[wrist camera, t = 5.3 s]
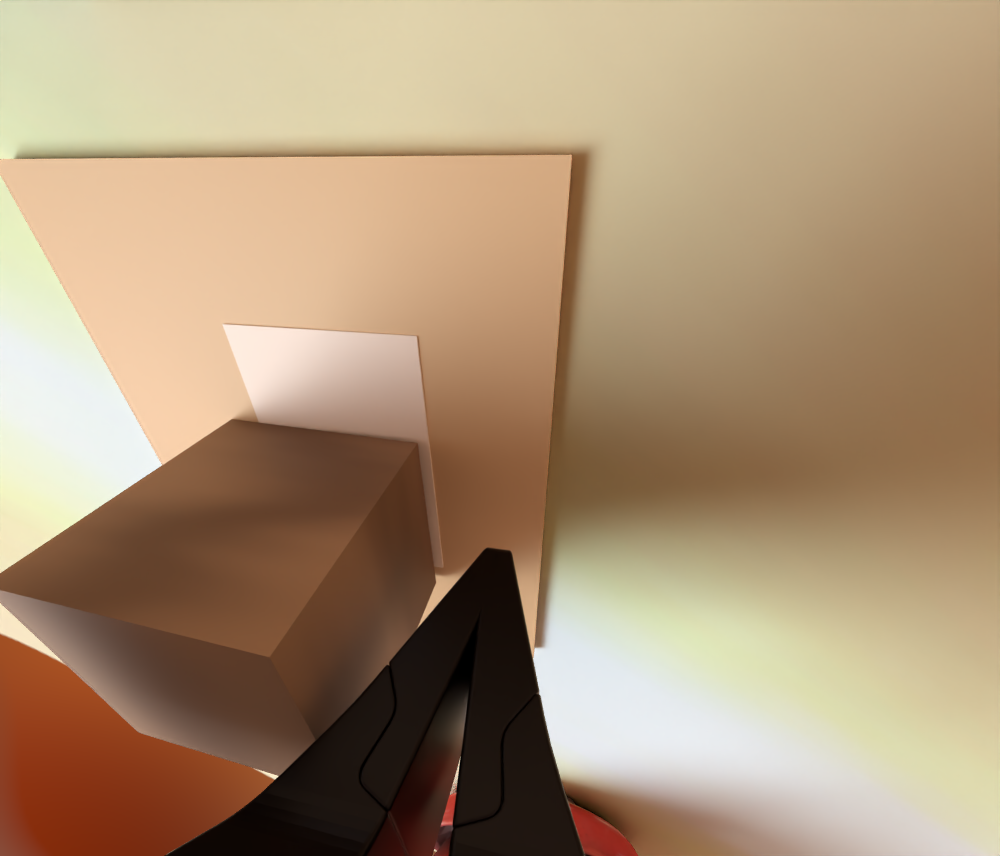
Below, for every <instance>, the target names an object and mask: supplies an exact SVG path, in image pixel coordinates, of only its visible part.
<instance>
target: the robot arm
mask: <svg viewBox="0 0 1000 856" xmlns="http://www.w3.org/2000/svg"><path fill="white" fill-rule="evenodd" d="M460 756H461V758H460ZM459 760H460V766H459V775H458V783H457V791H456V799H455V807H454V815H453V823H452V827H453V830H452V832H451V840H450V847H449V855H448V856H585V853H584V850H583V847H582V844H581V841H580V838H579V834H578V831H577V828H576V825H575V822H574V819H573V816H572V812H571V809H570V806H569V803H568V800H567V797H566V794H565V790H564V787H563V784H562V781H561V778H560V774H559V771H558V767H557V764H556V760H555V757H554V754H553V750H552V747H551V743H550V738H549V734H548V730H547V725H546V721H545V716H544V711H543V706H542V701H541V696H540V695H539V687H538V682H537V677H536V672H535V667H534V662H533V656H532V651H531V646H530V641H529V636H528V631H527V626H526V621H525V616H524V611H523V606H522V601H521V595H520V590H519V585H518V580H517V575H516V570H515V565H514V560H513V555H512V552H511V551H510V550H504V549H497V548H490V547H487V548H485V549H484V550H483V551H482V552H481V554H480V555H479V556H478V557H477V558H476V559H475V561H474V562H473V563H472V564H471V565H470V567H469V568H468V569H467V570H466V571H465V572H464V574H463V575H462V576H461V577H460V578H459V580H458V581H457V582H456V583H455V584H454V585H453V587H452V588H451V589H450V590H449V591H448V593H447V594H446V595H445V596H444V597H443V599H442V600H441V601H440V602H439V603H438V604H437V606H436V607H435V608H434V609H433V610H432V612H431V613H430V614H429V615H428V616H427V617H426V619H425V620H424V621H423V622H422V623H421V625H420V626H419V627H418V628H417V629H416V630H415V632H414V633H413V634H412V635H411V636H410V638H409V639H408V640H407V641H406V642H405V643H404V645H403V646H402V647H401V648H400V649H399V651H398V652H397V653H396V654H395V655H394V657H393V658H392V659H391V660H390V661H389V665H386V666H385V667H384V668H383V669H382V670H381V672H380V673H379V674H378V675H377V676H376V678H375V679H374V680H373V681H372V682H371V683H370V684H369V686H368V687H367V688H366V689H365V690H364V691H363V692H362V693H361V695H360V696H359V697H358V698H357V699H356V700H355V701H354V702H353V703H352V704H351V705H350V706H349V708H348V709H347V710H346V711H345V712H344V713H343V714H342V715H341V716H340V717H339V718H338V719H337V720H336V721H335V722H334V723H333V724H332V725H331V726H330V727H329V728H328V729H327V730H326V731H325V732H324V733H323V734H322V735H321V736H320V737H319V738H318V739H316V740H315V741H314V742H313V743H312V744H311V745H310V746H309V747H308V748H307V749H306V750H305V751H304V752H303V753H302V754H301V755H300V756H299V757H298V758H297V759H296V760H295V761H294V762H293V763H292V764H291V765H290V766H289V767H288V768H287V769H286V770H285V771H284V772H283V773H282V774H281V775H280V776H279V777H278V778H276V779H275V780H274V782H273V783H271V784H270V785H269V786H268V787H267V788H266V789H265V790H264V791H263V792H262V793H261V794H259V795H258V796H257V797H256V798H255V799H254V800H252V801H251V802H250V803H249V804H247V805H246V806H245V807H244V808H242V809H241V810H239V811H238V812H236V813H235V814H234V815H232V816H231V817H229V818H228V819H226V820H224V821H223V822H221V823H219V824H218V825H216V826H214V827H213V828H211V829H209V830H207V831H206V832H204V833H202V834H201V835H199V836H197V837H195V838H194V839H192V840H190V841H189V842H187V843H185V844H184V845H182V846H180V847H178V848H177V849H175V850H173V851H172V852H170V853H168V854H167V855H165V856H432V855H433V851H434V848H435V844H436V841H437V837H438V834H439V830H440V827H441V823H442V820H443V816H444V813H445V809H446V806H447V802H448V799H449V795H450V792H451V788H452V784H453V781H454V777H455V774H456V770H457V767H458V763H459Z"/></svg>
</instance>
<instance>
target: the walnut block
mask: <svg viewBox="0 0 1000 856" xmlns="http://www.w3.org/2000/svg"><path fill="white" fill-rule="evenodd" d="M435 584H436V577H435V569H434V562H433V555H432V547H431V540H430V532H429V525H428V517H427V510H426V502H425V495H424V487H423V480H422V472H421V465H420V457H419V450H418V443H414V442H406V441H398V440H390V439H382V438H375V437H367V436H359V435H351V434H344V433H336V432H328V431H320V430H313V429H305V428H297V427H289V426H281V425H274V424H266V423H258V422H250V421H243V420H235V419H231V420H230V421H228V422H227V423H225V424H224V425H222V426H221V427H219V428H218V429H216V430H215V431H213V432H212V433H210V434H209V435H207V436H206V437H204V438H203V439H201V440H200V441H198V442H197V443H195V444H194V445H192V446H191V447H189V448H188V449H186V450H185V451H183V452H182V453H180V454H179V455H177V456H176V457H174V458H173V459H171V460H170V461H168V462H167V463H165V464H164V465H162V466H161V467H159V468H158V469H156V470H155V471H153V472H152V473H150V474H149V475H147V476H146V477H144V478H143V479H141V480H140V481H138V482H137V483H135V484H134V485H132V486H131V487H129V488H128V489H126V490H125V491H123V492H122V493H120V494H119V495H117V496H116V497H114V498H113V499H111V500H110V501H108V502H107V503H105V504H104V505H102V506H101V507H99V508H98V509H96V510H95V511H93V512H92V513H90V514H89V515H87V516H86V517H84V518H83V519H81V520H80V521H78V522H77V523H75V524H74V525H72V526H71V527H69V528H68V529H66V530H65V531H63V532H62V533H60V534H59V535H57V536H56V537H54V538H53V539H51V540H50V541H48V542H47V543H45V544H44V545H42V546H41V547H39V548H38V549H36V550H35V551H33V552H32V553H30V554H29V555H27V556H26V557H24V558H23V559H21V560H20V561H18V562H17V563H15V564H14V565H12V566H11V567H9V568H8V569H6V570H5V571H3V572H2V573H0V603H1V604H2V605H3V606H4V607H5V608H6V609H7V610H8V611H9V612H11V613H12V614H13V615H14V616H15V617H16V618H17V619H18V620H19V621H20V622H21V623H22V624H23V625H24V626H26V627H27V628H28V629H29V630H30V631H31V632H32V633H33V634H34V635H35V636H36V637H37V638H38V639H39V640H40V641H42V642H43V643H44V644H45V645H46V646H47V647H48V648H49V649H50V650H51V651H52V652H53V653H54V654H55V655H56V656H58V657H59V658H60V659H61V660H62V661H63V662H64V663H65V664H66V665H67V666H68V667H69V668H70V669H71V670H72V671H74V672H75V673H76V674H77V675H78V676H79V677H80V678H81V679H82V680H83V681H84V682H85V683H86V684H87V685H89V686H90V687H91V688H92V689H93V690H94V691H95V692H96V693H97V694H98V695H99V696H100V697H101V698H102V699H103V700H105V701H106V702H107V703H108V704H109V705H110V706H111V707H112V708H113V709H114V710H115V711H116V712H117V713H118V714H120V715H121V716H122V717H123V718H124V719H125V720H126V721H127V722H128V723H129V724H130V725H131V726H132V727H133V728H134V729H135V730H137V731H138V732H139V733H142V734H145V735H149V736H152V737H155V738H158V739H162V740H165V741H168V742H171V743H175V744H178V745H181V746H184V747H187V748H191V749H194V750H197V751H200V752H203V753H207V754H210V755H214V756H216V757H220V758H223V759H226V760H229V761H233V762H236V763H239V764H243V765H246V766H249V767H252V768H255V769H259V770H262V771H265V772H268V773H272V774H275V775H278V776H280V775H281V774H282V773H283V772H284V771H285V770H286V769H287V768H288V767H289V766H290V765H291V764H292V763H293V762H294V761H295V760H296V759H297V758H298V757H299V756H300V755H301V754H302V753H303V752H304V751H305V750H306V749H307V748H308V747H309V746H310V745H311V744H312V743H313V742H314V741H315V740H316V739H318V738H319V737H320V736H321V735H322V734H323V733H324V732H325V731H326V730H327V729H328V728H329V727H330V726H331V725H332V724H333V723H334V722H335V721H336V720H337V719H338V718H339V717H340V716H341V715H342V714H343V713H344V712H345V711H346V710H347V709H348V708H349V706H350V705H351V704H352V703H353V702H354V701H355V700H356V699H357V698H358V697H359V696H360V695H361V693H362V692H363V691H364V690H365V689H366V688H367V687H368V686H369V684H370V683H371V682H372V681H373V680H374V679H375V678H376V676H377V675H378V674H379V673H380V672H381V670H382V669H383V668H384V667H385V666H386V665H389V661H390V660H391V659H392V658H393V657H394V655H395V654H396V653H397V652H398V651H399V649H400V648H401V647H402V646H403V645H404V643H405V642H406V641H407V640H408V639H409V638H410V636H411V635H412V634H413V633H414V632H415V630H416V629H417V628H418V625H419V623H420V621H421V618H422V616H423V613H424V611H425V609H426V606H427V604H428V601H429V599H430V596H431V594H432V592H433V589H434V587H435Z"/></svg>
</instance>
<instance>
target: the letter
mask: <svg viewBox="0 0 1000 856" xmlns="http://www.w3.org/2000/svg"><path fill="white" fill-rule="evenodd" d="M571 167H572V155H471V156H341V157H210V158H80V159H0V175H1V177H2V179H3V180H4V182H5V184H6V186H7V188H8V189H9V191H10V193H11V195H12V197H13V198H14V200H15V202H16V204H17V206H18V207H19V209H20V211H21V213H22V215H23V216H24V218H25V220H26V222H27V223H28V225H29V227H30V229H31V231H32V232H33V234H34V236H35V238H36V240H37V241H38V243H39V245H40V247H41V249H42V250H43V252H44V254H45V256H46V258H47V259H48V261H49V263H50V265H51V266H52V268H53V270H54V272H55V274H56V275H57V277H58V279H59V281H60V283H61V284H62V286H63V288H64V290H65V292H66V293H67V295H68V297H69V299H70V301H71V302H72V304H73V306H74V308H75V309H76V311H77V313H78V315H79V317H80V318H81V320H82V322H83V324H84V326H85V327H86V329H87V331H88V333H89V335H90V336H91V338H92V340H93V342H94V344H95V345H96V347H97V349H98V351H99V352H100V354H101V356H102V358H103V360H104V361H105V363H106V365H107V367H108V369H109V370H110V372H111V374H112V376H113V378H114V379H115V381H116V383H117V385H118V387H119V388H120V390H121V392H122V394H123V395H124V397H125V399H126V401H127V403H128V404H129V406H130V408H131V410H132V412H133V413H134V415H135V417H136V419H137V421H138V422H139V424H140V426H141V428H142V430H143V431H144V433H145V435H146V437H147V438H148V440H149V442H150V444H151V446H152V447H153V449H154V451H155V453H156V455H157V456H158V458H159V460H160V462H161V464H162V465H164V464H165V463H167V462H168V461H170V460H171V459H173V458H174V457H176V456H177V455H179V454H180V453H182V452H183V451H185V450H186V449H188V448H189V447H191V446H192V445H194V444H195V443H197V442H198V441H200V440H201V439H203V438H204V437H206V436H207V435H209V434H210V433H212V432H213V431H215V430H216V429H218V428H219V427H221V426H222V425H224V424H225V423H227V422H228V421H230V420H231V419H235V420H243V421H250V422H258V423H266V424H274V425H281V426H289V427H297V428H305V429H313V430H320V431H328V432H336V433H344V434H351V435H359V436H367V437H375V438H382V439H390V440H398V441H406V442H414V443H418V450H419V457H420V465H421V472H422V480H423V487H424V495H425V502H426V510H427V517H428V525H429V532H430V540H431V547H432V555H433V562H434V569H435V577H436V584H435V587H434V589H433V592H432V594H431V596H430V599H429V601H428V604H427V606H426V609H425V611H424V613H423V616H422V618H421V621H420V623H419V625H418V627H419V626H420V625H421V623H422V622H423V621H424V620H425V619H426V617H427V616H428V615H429V614H430V613H431V612H432V610H433V609H434V608H435V607H436V606H437V604H438V603H439V602H440V601H441V600H442V599H443V597H444V596H445V595H446V594H447V593H448V591H449V590H450V589H451V588H452V587H453V585H454V584H455V583H456V582H457V581H458V580H459V578H460V577H461V576H462V575H463V574H464V572H465V571H466V570H467V569H468V568H469V567H470V565H471V564H472V563H473V562H474V561H475V559H476V558H477V557H478V556H479V555H480V554H481V552H482V551H483V550H484V549H485V548H487V547H490V548H497V549H504V550H510V551H511V552H512V555H513V560H514V565H515V570H516V575H517V580H518V585H519V590H520V595H521V601H522V606H523V611H524V616H525V621H526V626H527V631H528V636H529V641H530V646H531V651H532V656H534V646H535V633H536V621H537V608H538V595H539V582H540V569H541V556H542V543H543V530H544V517H545V504H546V491H547V478H548V465H549V452H550V439H551V426H552V413H553V400H554V387H555V374H556V361H557V349H558V336H559V323H560V310H561V297H562V284H563V271H564V258H565V245H566V232H567V219H568V206H569V193H570V180H571Z"/></svg>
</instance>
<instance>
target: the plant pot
mask: <svg viewBox="0 0 1000 856" xmlns="http://www.w3.org/2000/svg"><path fill="white" fill-rule="evenodd" d="M455 799H456V793H453V794H451V795H449V799H448V802H447V806H446V809H445V813H444V816H443V820H442V823H441V827H440V830H439V834H438V837H437V841H436V844H435V848H434V849H436V850H437V852H436V853H435V854H434V856H448V855H449V847H450V840H451V832H452V830H453V827H452V823H453V815H454V807H455ZM567 800H568V803H569V806H570V809H571V812H572V816H573V819H574V822H575V825H576V828H577V831H578V834H579V838H580V841H581V844H582V847H583V850H584V853H585V856H638V854H637V853H636V851H635V849H634V848H633V846H632V845H631V844H630V842H629V841H628V840H627V839H626V838H625V837H624V836H623V835H622V834H621V833H620V832H619V831H618V830H617V829H616V828H615V827H613V826H612V825H611V824H610V823H608V822H607V821H605V820H603V819H602V818H600V817H598V816H596V815H595V814H593V813H591V812H589V811H587V810H585V809H583V808H581V807H579V806H577V805H575V804H574V801H573V800H572V799H571V798H569V797H567Z"/></svg>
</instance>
